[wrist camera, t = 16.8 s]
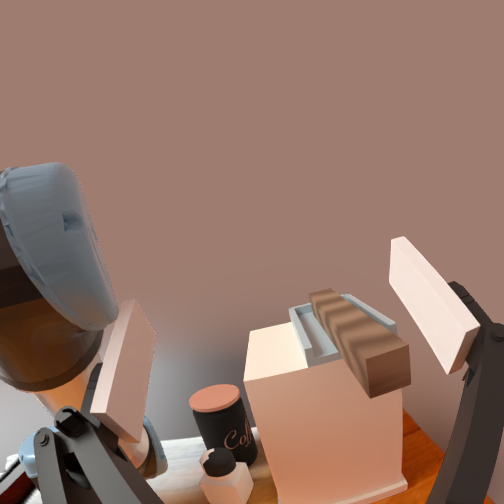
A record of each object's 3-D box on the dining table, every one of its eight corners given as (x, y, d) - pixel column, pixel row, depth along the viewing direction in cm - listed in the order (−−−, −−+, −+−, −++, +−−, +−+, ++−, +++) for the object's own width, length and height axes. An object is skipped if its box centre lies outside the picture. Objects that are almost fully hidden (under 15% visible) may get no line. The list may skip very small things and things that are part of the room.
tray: (398, 341, 34) (396, 322, 34) (307, 367, 35) (304, 349, 35) (350, 305, 57) (348, 293, 57) (291, 320, 58) (288, 308, 58)
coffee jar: (238, 478, 50) (214, 413, 50) (204, 464, 57) (178, 402, 56) (268, 450, 59) (249, 387, 58) (233, 441, 65) (213, 381, 65)
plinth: (407, 489, 34) (408, 340, 33) (281, 524, 35) (234, 386, 34) (369, 424, 58) (354, 304, 57) (276, 447, 59) (245, 330, 58)
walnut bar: (411, 384, 22) (408, 344, 22) (369, 398, 23) (365, 359, 22) (334, 309, 54) (330, 288, 54) (313, 314, 55) (308, 293, 54)
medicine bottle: (254, 484, 47) (239, 443, 47) (244, 508, 40) (226, 468, 40) (222, 482, 49) (204, 442, 49) (209, 505, 42) (189, 465, 42)
